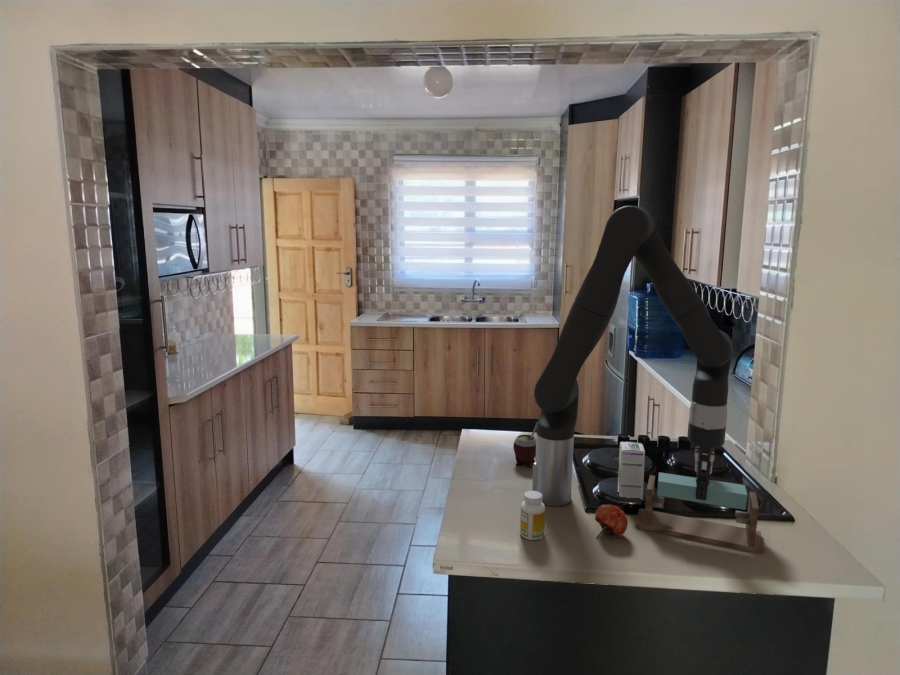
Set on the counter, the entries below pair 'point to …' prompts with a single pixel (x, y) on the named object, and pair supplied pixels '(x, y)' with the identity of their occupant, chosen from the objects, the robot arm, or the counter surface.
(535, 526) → the supplement bottle
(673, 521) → the rack
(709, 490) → the teal rectangular block
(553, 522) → the counter surface
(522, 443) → the mate gourd
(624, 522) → the red mushroom
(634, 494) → the syrup box
